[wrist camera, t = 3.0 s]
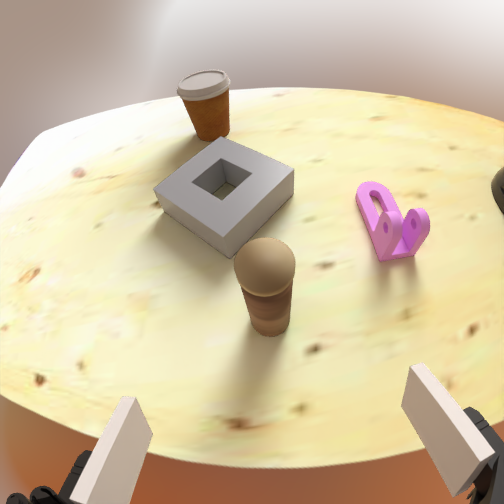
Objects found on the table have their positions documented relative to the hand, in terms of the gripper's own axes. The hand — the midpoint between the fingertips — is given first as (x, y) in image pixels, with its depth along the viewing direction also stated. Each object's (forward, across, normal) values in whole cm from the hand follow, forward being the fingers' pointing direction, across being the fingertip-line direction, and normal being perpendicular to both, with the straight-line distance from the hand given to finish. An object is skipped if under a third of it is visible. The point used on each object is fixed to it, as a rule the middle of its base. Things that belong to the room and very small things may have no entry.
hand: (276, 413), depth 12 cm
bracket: (+29, +18, +3) cm, 34 cm away
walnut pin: (+20, 0, -5) cm, 21 cm away
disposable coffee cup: (+47, -6, +21) cm, 52 cm away
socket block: (+34, -4, +8) cm, 35 cm away
